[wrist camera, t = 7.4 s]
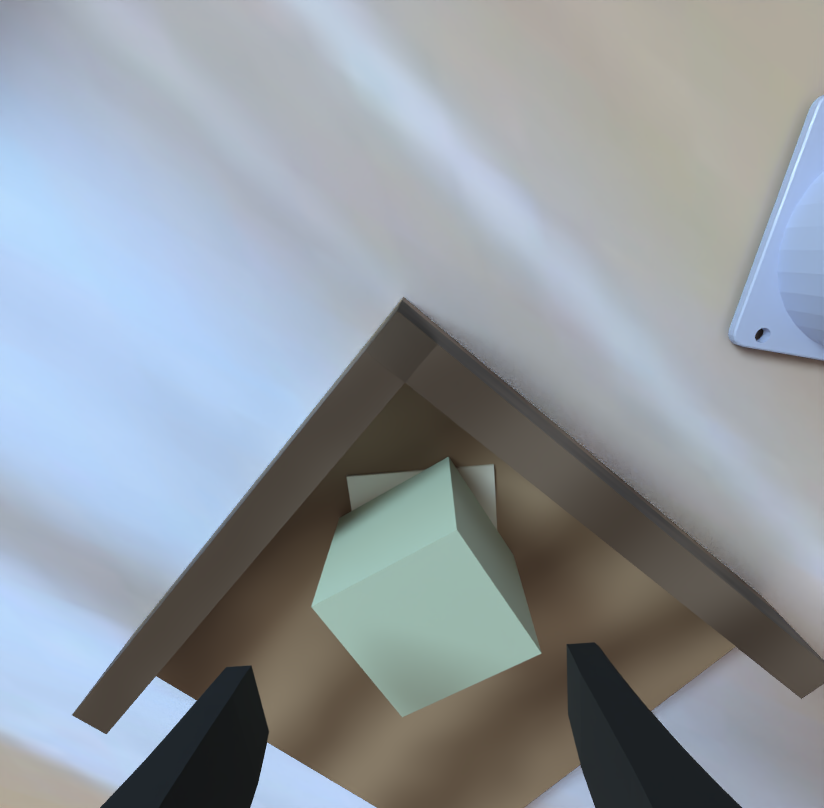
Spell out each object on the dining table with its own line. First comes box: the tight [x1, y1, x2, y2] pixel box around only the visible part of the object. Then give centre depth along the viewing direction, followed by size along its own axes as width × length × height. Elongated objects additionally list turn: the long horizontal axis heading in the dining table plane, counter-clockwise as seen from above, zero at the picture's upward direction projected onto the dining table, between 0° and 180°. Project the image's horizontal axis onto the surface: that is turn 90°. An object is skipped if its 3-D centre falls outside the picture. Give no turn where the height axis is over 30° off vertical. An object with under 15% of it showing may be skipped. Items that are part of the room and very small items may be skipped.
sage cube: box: [311, 457, 542, 717], centre depth 17 cm, size 5×5×5 cm
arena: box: [73, 297, 824, 808], centre depth 20 cm, size 20×20×4 cm
